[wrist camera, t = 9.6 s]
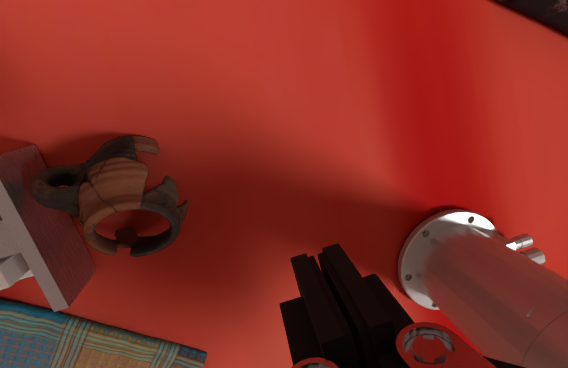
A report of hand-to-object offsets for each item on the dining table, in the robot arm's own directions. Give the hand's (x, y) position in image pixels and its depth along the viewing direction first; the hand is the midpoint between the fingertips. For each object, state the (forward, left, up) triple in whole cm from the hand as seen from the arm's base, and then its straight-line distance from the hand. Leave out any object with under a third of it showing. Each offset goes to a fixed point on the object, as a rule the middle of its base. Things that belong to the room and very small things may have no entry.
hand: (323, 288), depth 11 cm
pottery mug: (+13, -1, -23) cm, 27 cm away
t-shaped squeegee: (+25, 0, -23) cm, 33 cm away
